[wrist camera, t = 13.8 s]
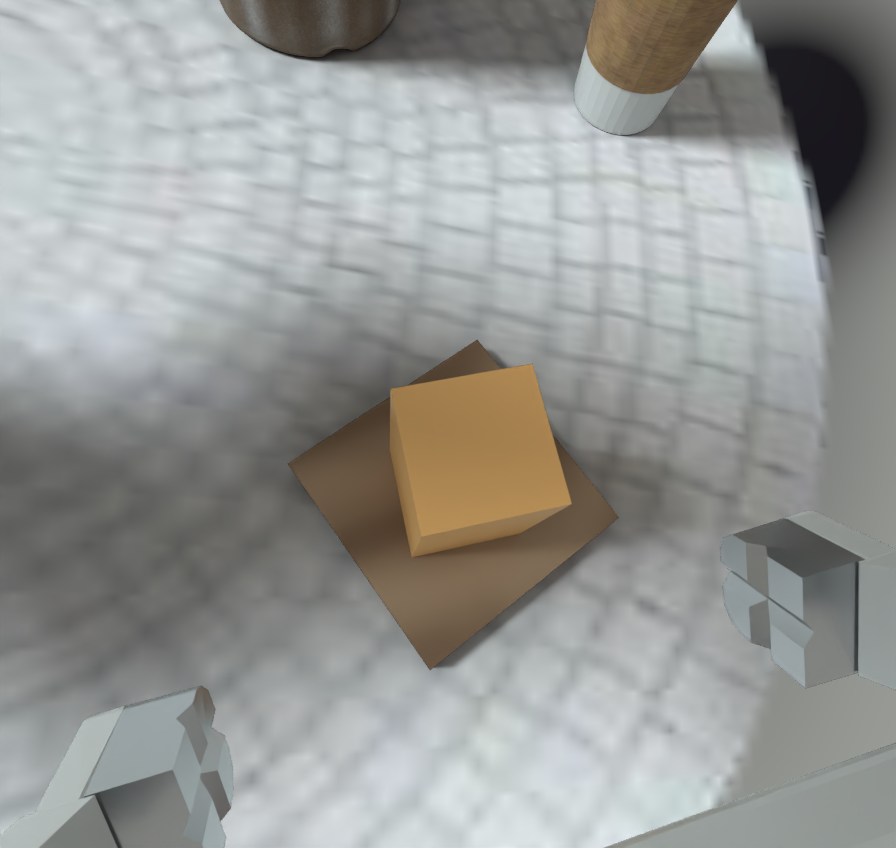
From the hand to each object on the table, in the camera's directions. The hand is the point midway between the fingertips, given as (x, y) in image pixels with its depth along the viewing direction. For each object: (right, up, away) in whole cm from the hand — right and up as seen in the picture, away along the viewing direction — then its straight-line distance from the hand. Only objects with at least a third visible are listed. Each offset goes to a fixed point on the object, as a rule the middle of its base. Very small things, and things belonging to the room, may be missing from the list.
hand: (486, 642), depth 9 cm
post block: (0, 0, +22) cm, 22 cm away
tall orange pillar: (0, 0, +21) cm, 21 cm away
